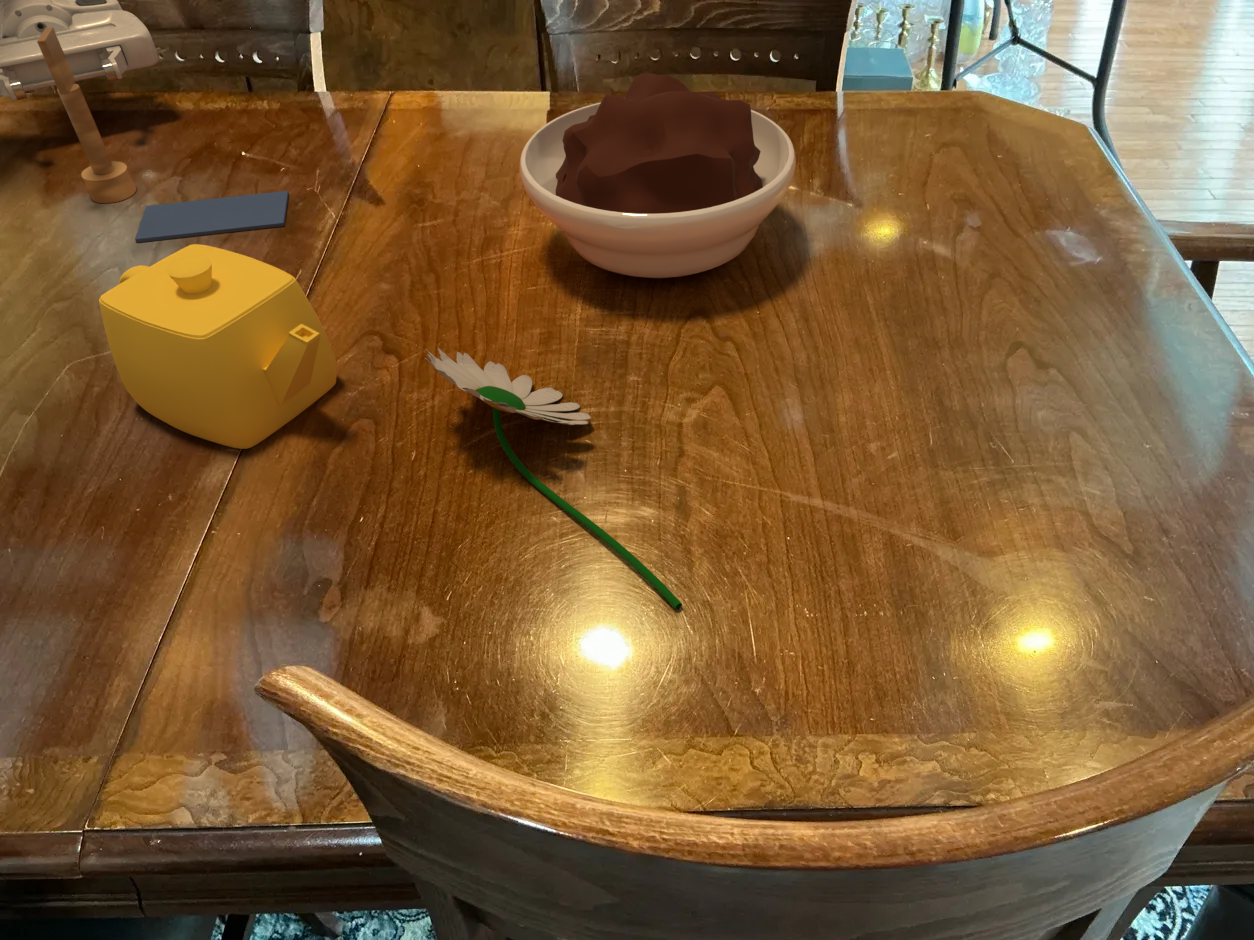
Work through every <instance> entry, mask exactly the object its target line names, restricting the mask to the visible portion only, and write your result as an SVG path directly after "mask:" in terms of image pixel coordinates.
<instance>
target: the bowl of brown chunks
mask: <svg viewBox="0 0 1254 940" xmlns="http://www.w3.org/2000/svg"><path fill="white" fill-rule="evenodd" d="M796 165H797V155H796V151H795V147H794V144H793V142H792V140H791V138H790V137H789V136H788V134H787V133H786V132H785V130H784V129H783V128H782V127H781V126H779V124H777V123H776V122H775V121H774V120H772V119H771V118H769V117H767V116H766V115H763V114H762V113H760V112H758V111H756V110H753V109H752V107H751V104H749V103H747V102H746V101H744V100H742V99H736V100H735V99H723V98H721V97H720V96H719V95H717V94H716V92H715V93H714V92H713V91H709V92H693V91H691V90H690V88H688V87H687V85H685V84H684V83H683V82H682V81H680V80H679V79H678V78H675V77H673V76H670V75H665V74H663V75H662V74H656V73H650V72H643V73H642V72H641V73H640V74H638V75H637V76H635V77H634V78H633V80H632V81H631V84H630V85H629V88H628V89H627V91H626V94H625V96H621V95H618V94H617V95H616V94H611V93H606V94H605V95H604V97H603V99H602V100H601V101H599V102H596V103H592V104H588V105H585V106H582V107H579V108H576V109H574V110H571V111H568V112H566V113H564V114H561V115H560V116H558V117H556V118H554V119H552V120H550V121H549V122H547V123H546V124H544V125H543V126H541V127H540V128H539V129H538V130H537V131H536V132H535V133H533V134H532V136H531V137H530V138H529V139H528V140H527V142H526V144H525V145H524V147H523V148H522V151H521V154H520V158H519V163H518V166H519V167H518V170H519V175H520V179H521V185H522V187H523V189H524V191H525V193H526V194H527V196H528V198H529V199H530V200H531V201H532V203H533V205H534V206H535V207H536V208H537V209H538V210H539V212H541V213H542V215H543V216H544V217H545V218H546V219H548V221H549V222H551V223H552V224H553V225H554V226H556V227H557V228H558V229H559V230H561V232H562V233H563V235H564V236H565V238H566V239H567V241H568V242H569V244H570V245H571V246H572V248H573V249H574V250H575V252H576V253H577V254H578V255H579V256H580V257H582V258H583V259H584V260H585V261H587V262H588V263H590V264H592V265H594V266H596V267H598V268H601V269H603V270H605V271H608V272H612V273H615V274H620V275H625V276H629V277H635V278H643V279H644V278H646V279H647V278H648V279H669V278H670V279H671V278H679V277H685V276H691V275H692V276H693V275H696V274H699V273H702V272H703V273H704V272H706V271H709V270H712V269H715V268H718V267H720V266H722V265H724V264H726V263H728V262H730V261H731V260H733V259H735V258H736V257H737V256H739V255H740V254H742V252H743V251H745V249H747V247H748V246H749V244H750V243H751V241H752V240H753V238H754V236H755V235H756V233H757V231H758V229H759V226H760V224H761V223H762V222H763V221H764V220H766V218H767V217H768V216H769V215H770V214H771V213H772V212H773V211H774V210H775V209H776V207H777V206H778V205H779V204H780V202H782V200H783V199H784V197H785V195H786V194H787V192H788V190H789V188H790V186H791V185H792V182H793V180H794V178H795V173H796V168H797V167H796Z"/></svg>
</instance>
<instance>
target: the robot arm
mask: <svg viewBox="0 0 1254 940" xmlns="http://www.w3.org/2000/svg"><path fill="white" fill-rule="evenodd" d="M49 27H53V29H54V31H55V33H56V36H57V38H58V40H59V43H60V45H61V48H62V50H63V52H64V55H65V57H66V59H67V62H68V64H69V66H70V69H71V71H72V73H73V76H74V78H75V81H74V83H73V84H76V82H80V81H85V80H90V79H95V78H101V77H106V79H107V81H108V82H113V81H118V80H119V81H120V80H123V78H124V77H123V74H124V73H126V72H129V71H134V70H139V69H145V68H150V67H153V66H155V65H156V64H158V63H159V62H160V57H159V54H158V51H157V48H156V45H155V42H154V40H153V38H152V35H151V32H150V31H149V29H148V28H147V26H146V25H145V24H144V22H143V21H142V20H140V19H139V18H138V17H137V16H136V15H135V14H133V13H131V12H130V11H128V10H124V9H123V8H122V7H121V4H120V2H119V1H118V0H0V98H1V97H8V98H10V100H11V101H12V102H16V101H20V100H24V99H28V95H27V93H26V92H31V91H35V90H41V89H44V88H49V87H57V86H56V84H55V81H54V79H53V77H52V75H51V72H50V70H49V68H48V65H47V63H46V61H45V59H44V56H43V54H42V52H41V50H40V47H39V45H38V43H37V40H38V39H39V37H40V36H41V34H42V33H43V31H44V29H45V28H49Z"/></svg>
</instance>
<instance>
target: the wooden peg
mask: <svg viewBox="0 0 1254 940" xmlns="http://www.w3.org/2000/svg"><path fill="white" fill-rule="evenodd" d="M37 43H38V45H39V47H40V50H41V52H42V54H43V56H44V59H45V61H46V63H47V65H48V68H49V70H50V72H51V75H52V77H53V79H54V81H55V84H56V86H55V87H56V88H57V89H56V91H57V94H58V95H59V98H60V100H61V102H62V104H63V107H64V109H65V112H66V113H67V116H68V118H69V120H70V123H71V125H72V127H73V129H74V132H75V134H76V136H77V138H78V141H79V143H80V145H81V148H82V150H83V152H84V155H85V156H86V159H87V161H88V163H89V166H88V167H86V168H85V169H83V170H82V171H81V174H80V176H81V179H82V181H83V182H84V185H85V187H86V190H87V192H88V194H89V196H90V199H91V200H92V201H93V202H95V203H97V204H112V203H118V202H121V201H122V202H123V201H124V200H127V199H129V198H131V197H132V196H133V195H135V193H136V192H137V187H136V185H135V182H134V180H133V177H132V175H131V173H130V170H129V168H128V165H127V164H125V162H123V161H116V160H112V159H111V157H110V155H109V153H108V150H107V148H106V146H105V143H104V141H103V138H102V136H101V134H100V131H99V129H98V127H97V124H96V121H95V119H94V117H93V115H92V113H91V109H90V108H89V106H88V103H87V101H86V98H85V96H84V93H83V91H82V89H81V86H80V85H79V84H78V83H74V81H75V78H74V76H73V73H72V71H71V69H70V66H69V64H68V62H67V59H66V57H65V55H64V52H63V50H62V48H61V45H60V43H59V40H58V38H57V36H56V33H55V31H54V29H53V27H49V28H45V29H44V31H43V33H42V34H41V36H40V37H39V39H38V40H37Z"/></svg>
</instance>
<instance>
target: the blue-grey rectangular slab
mask: <svg viewBox="0 0 1254 940" xmlns="http://www.w3.org/2000/svg"><path fill="white" fill-rule="evenodd" d="M289 197H290V193H289V190H281V191H272V192H263V193H254V194H243V195H235V196H234V195H233V196H225V197H215V198H207V199H206V198H205V199H196V200H188V201H186V200H185V201H178V202H169V203H158V204H149V205H145V208H144V210H143V214H142V217H141V220H140V223H139V225H138V229H137V232H136V235H135V238H134V240H135V243H146V242H154V241H155V242H156V241H163V240H164V241H165V240H172V239H180V238H181V239H183V238H191V237H198V236H199V237H200V236H208V235H219V234H228V233H235V232H245V231H252V230H262V229H271V228H280V227H285V226H286V218H287V211H288V204H289Z"/></svg>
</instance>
